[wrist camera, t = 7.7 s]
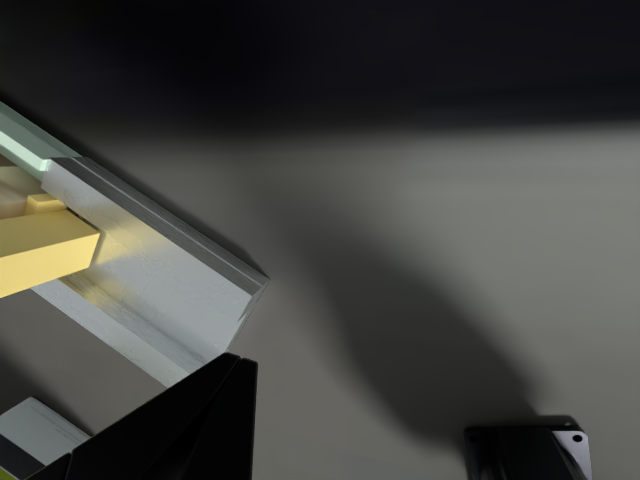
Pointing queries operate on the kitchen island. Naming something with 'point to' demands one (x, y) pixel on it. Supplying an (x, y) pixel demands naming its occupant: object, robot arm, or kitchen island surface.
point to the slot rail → (148, 276)
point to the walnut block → (6, 162)
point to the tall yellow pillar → (43, 244)
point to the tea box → (34, 439)
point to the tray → (28, 143)
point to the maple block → (16, 190)
